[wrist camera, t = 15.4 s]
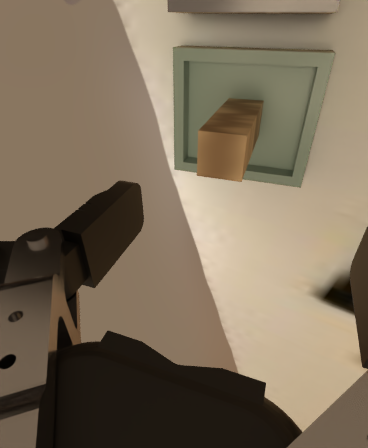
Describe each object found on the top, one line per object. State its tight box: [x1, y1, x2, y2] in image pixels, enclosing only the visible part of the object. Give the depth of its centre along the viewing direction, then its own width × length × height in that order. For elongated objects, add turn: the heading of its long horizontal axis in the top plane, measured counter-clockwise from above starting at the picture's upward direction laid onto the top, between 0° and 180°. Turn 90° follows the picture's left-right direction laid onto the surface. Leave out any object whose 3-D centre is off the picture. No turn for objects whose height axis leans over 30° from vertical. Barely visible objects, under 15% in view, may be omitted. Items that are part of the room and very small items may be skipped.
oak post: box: [197, 98, 264, 182], centre depth 30 cm, size 4×4×13 cm
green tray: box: [173, 46, 335, 188], centre depth 35 cm, size 16×14×3 cm
